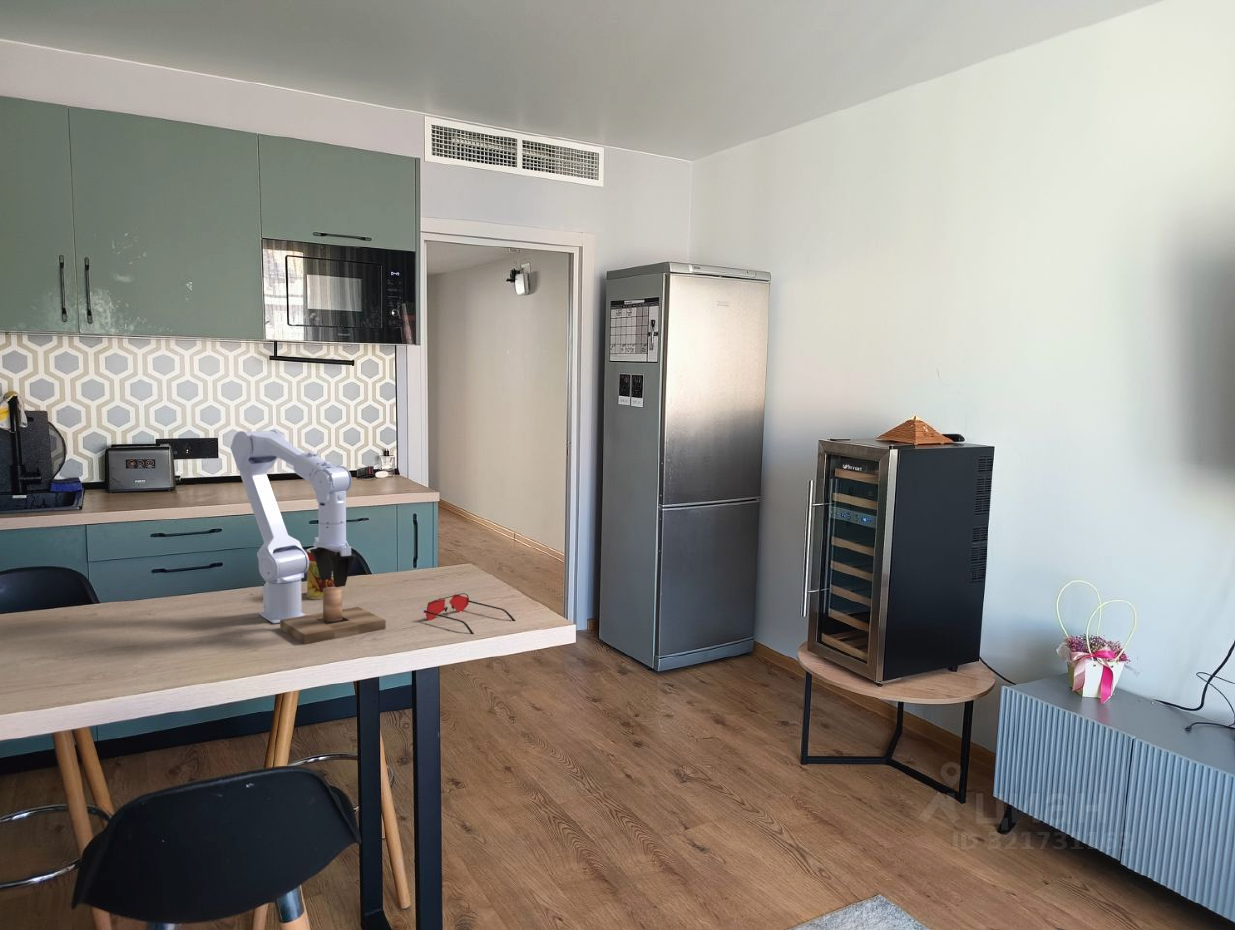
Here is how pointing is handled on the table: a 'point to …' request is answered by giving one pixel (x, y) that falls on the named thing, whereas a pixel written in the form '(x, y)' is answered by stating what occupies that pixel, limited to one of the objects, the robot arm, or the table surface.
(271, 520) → the robot arm
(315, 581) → the canned food
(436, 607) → the glasses
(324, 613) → the peg
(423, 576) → the table surface
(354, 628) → the board
